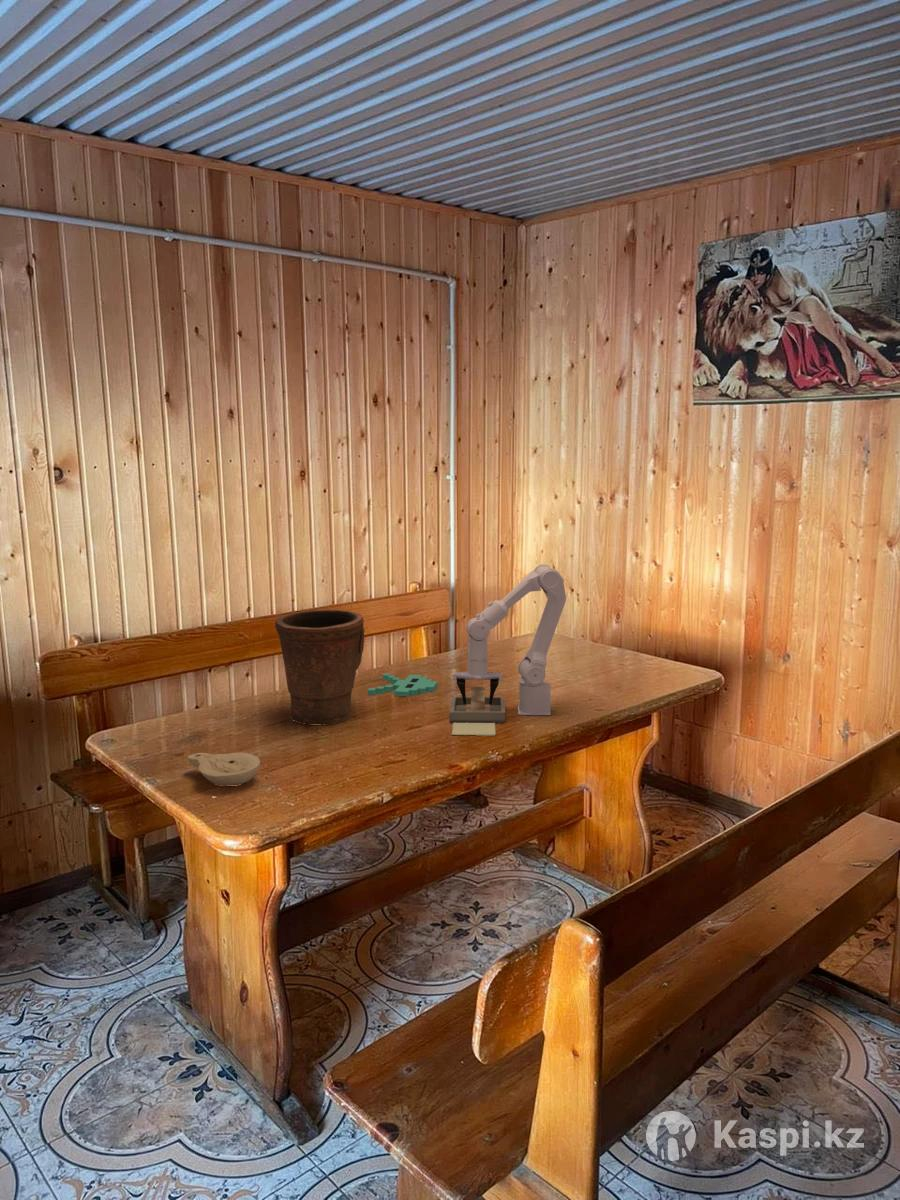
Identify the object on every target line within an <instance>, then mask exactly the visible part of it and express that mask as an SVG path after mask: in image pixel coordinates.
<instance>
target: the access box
mask: <svg viewBox="0 0 900 1200" xmlns="http://www.w3.org/2000/svg"><path fill="white" fill-rule="evenodd" d="M489 699H490V695H487V696H486V695H485V710H471V695H469V696H468V695H466V704H463V698H462V695H461V696H459V695H458V696H457V695H455V696H454V695H452V696H451V702H450V707H449V709H450V710H449V724H453V723H455V722H456V723H466V722H468V723H495V724H506V704H505V703H506V702H505V701H506V700H505V696H493V699H492V704H489Z"/></svg>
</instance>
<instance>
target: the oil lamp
mask: <svg viewBox="0 0 900 1200" xmlns="http://www.w3.org/2000/svg"><path fill="white" fill-rule="evenodd" d="M187 760H188V762H189V763H190V764H191V765H192V766H193V767H195V768H197V769H198V771H199V773H200V774H201V775H202V776H203V777H204V778H205V779H207V780H208V781H209V782H210V783H212V784H213V783H214V784H217V785H223V786H227V785H239V784H243V783H245V782H246V783H248V782H249V781H250V780H251V779H253V778H254V777H255V775H256V774H257V773H258V771H259V769H260V766H261V761H260V758H259V757H258V756H256V755H254V754H251V753H247V752H232V753H216V754H211V753H208V752H207V753H206V752H198V753H192V754H190V755H188V756H187ZM247 781H248V782H247ZM246 783H245V784H246ZM214 784H213V785H214ZM243 785H244V784H243Z"/></svg>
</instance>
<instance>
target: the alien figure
mask: <svg viewBox="0 0 900 1200" xmlns="http://www.w3.org/2000/svg"><path fill="white" fill-rule="evenodd" d="M382 681H386V682H387V683H390V682H392V683H391V684H385V686H380V685H379V686H377V687H369V688H368V689H367V696H376V695H379V694H380V695H381V694H382V695H384V693H392V692H393V691H394V694H393V695H394V697H395V696H406V697H405V698H409V697H410V696H415V695H417V696H418V693H425V694H426V693H434V692H435V691H436V690H437V688H438V687H437V686H438V681H435V680H433V678H432V679H431V678H429V679H428V677H427V676H423V674H409V675H407V677H406V678H405V679H401V678H400V677H396V675H392V673H383V675H382ZM393 684H394V685H393ZM434 690H435V691H434ZM433 691H434V692H433ZM409 695H410V696H409ZM408 696H409V697H408Z"/></svg>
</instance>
